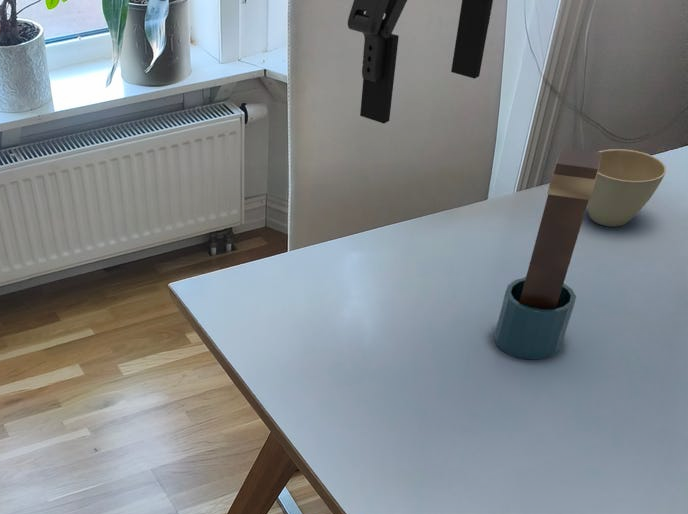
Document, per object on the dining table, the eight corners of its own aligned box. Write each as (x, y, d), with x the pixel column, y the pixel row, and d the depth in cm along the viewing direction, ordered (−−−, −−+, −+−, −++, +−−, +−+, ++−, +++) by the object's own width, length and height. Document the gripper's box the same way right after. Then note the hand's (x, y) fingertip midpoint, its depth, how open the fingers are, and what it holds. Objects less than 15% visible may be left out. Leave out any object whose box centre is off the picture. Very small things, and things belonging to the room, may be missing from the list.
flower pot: (626, 243, 118) (645, 188, 112) (558, 220, 122) (573, 166, 116) (659, 215, 122) (679, 161, 117) (592, 195, 127) (608, 141, 121)
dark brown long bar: (549, 330, 104) (603, 151, 89) (544, 349, 102) (599, 169, 86) (513, 324, 105) (560, 146, 90) (507, 343, 103) (555, 163, 87)
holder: (564, 330, 105) (579, 282, 101) (555, 364, 101) (571, 317, 96) (500, 318, 107) (512, 272, 102) (489, 352, 103) (501, 305, 98)
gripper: (516, -251, 72) (467, 49, 88) (313, -202, 61) (300, 127, 78) (600, -245, 68) (532, 66, 85) (399, -193, 58) (366, 150, 74)
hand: (421, 96), depth 81 cm, fingers open, 13 cm apart
